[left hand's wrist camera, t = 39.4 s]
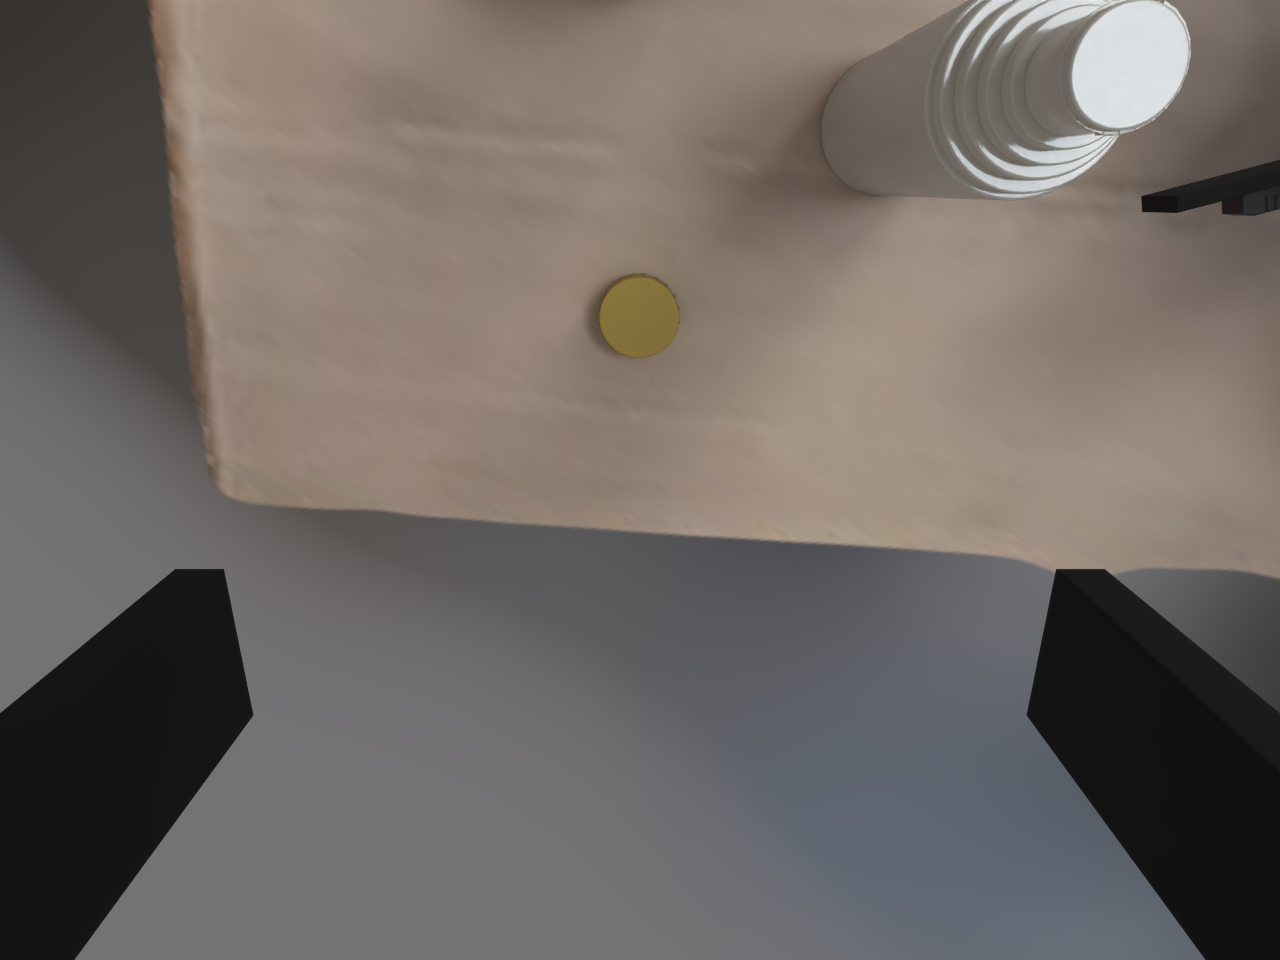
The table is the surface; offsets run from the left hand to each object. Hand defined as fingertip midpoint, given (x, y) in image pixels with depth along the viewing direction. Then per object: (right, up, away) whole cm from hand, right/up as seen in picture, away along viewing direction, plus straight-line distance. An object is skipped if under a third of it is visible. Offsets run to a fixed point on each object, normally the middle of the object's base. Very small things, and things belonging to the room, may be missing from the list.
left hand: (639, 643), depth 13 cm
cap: (0, +12, +32) cm, 34 cm away
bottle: (+13, +22, +30) cm, 39 cm away
